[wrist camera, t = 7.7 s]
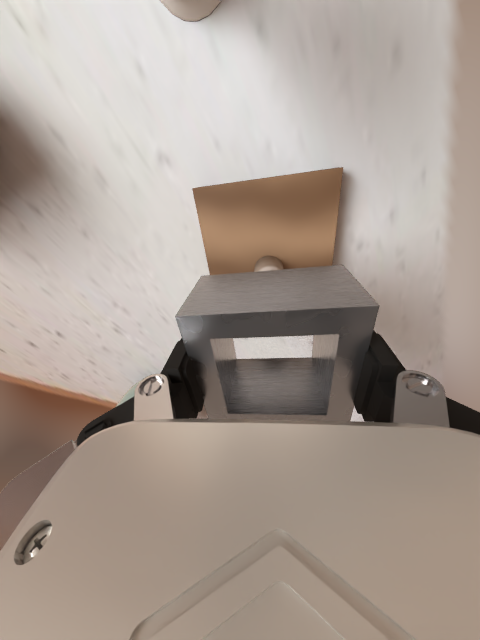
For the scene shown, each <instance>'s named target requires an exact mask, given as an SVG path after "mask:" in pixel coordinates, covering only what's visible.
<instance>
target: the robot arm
mask: <svg viewBox="0 0 480 640" xmlns="http://www.w3.org/2000/svg"><path fill="white" fill-rule="evenodd" d="M353 403H354V406H355V408H356V411H357V413H358V414H362V416H363V419H364V421H365V422H351V421H308V420H254V419H189V418H197V415H198V412H201V411H202V408H203V404H204V399H203V396H202V393H201V390H200V387H199V384H198V381H197V377H196V374H195V371H194V368H193V365H192V362H191V359H190V356H188V354H187V351H186V348H185V345H184V342H183V339H182V338H181V340H180V341H178V342H177V344H176V346H175V347H174V349H173V351H172V353H171V355H170V357H169V359H168V361H167V362H166V364H165V366H164V368H163V370H162V372H161V374H153V375H150V376H147V377H145V378H144V379H143V380H141V381H140V382H139V383H138V385H137V386H136V388H135V396H134V397H132V398H130V399H129V400H127V401H125V402H124V403H122V404H120V405H118V406H117V407H115V408H113V409H112V410H110V411H108V412H107V413H105V414H103V415H102V416H100V417H98V418H96V419H95V420H93V421H92V422H90V423H89V424H88V425H87V426H85V428H83V430H82V431H81V432H80V434H79V436H78V438H77V440H76V441H75V442H73V441H72V440H71V441H69V442H68V443H66V444H64V445H63V446H61V447H60V448H58V449H57V450H55V451H54V452H53V453H51V454H49V455H48V456H46V457H45V458H43V459H42V460H40V461H39V462H37V463H36V464H34V465H33V466H31V467H30V468H28V469H27V470H25V471H24V472H22V473H21V474H19V475H18V476H16V477H15V478H14V479H13V480H11V481H10V482H9V483H8V484H7V485H6V487H4V489H3V490H2V492H1V493H0V640H480V413H479V412H477V411H475V410H473V409H471V408H468V407H466V406H464V405H462V404H460V403H458V402H456V401H454V400H451V399H449V398H447V397H446V395H445V390H444V388H443V386H442V385H441V384H440V382H438V381H437V380H436V379H435V378H433V377H431V376H429V375H427V374H425V373H422V372H419V371H413V370H407V371H406V369H405V368H404V367H403V365H402V364H401V363H400V361H399V360H398V358H397V357H396V356H395V354H394V353H393V352H392V350H391V349H390V348H389V346H388V345H387V343H386V342H385V341H384V339H383V338H382V337H381V335H380V334H376V333H375V331H374V330H373V333H372V337H371V341H370V345H369V349H368V352H366V353H365V357H364V361H363V365H362V369H361V373H360V377H359V381H358V385H357V389H356V393H355V397H354V401H353Z"/></svg>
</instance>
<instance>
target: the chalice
mask: <svg viewBox="0 0 480 640" xmlns="http://www.w3.org/2000/svg"><path fill="white" fill-rule="evenodd" d="M160 1H161V2H162V3H163V4H164V6H165V7H166V8H167V9H168V10H169V11H170V12H171V13H172V14H173V15H175V16H177V17H179V18H181V19H182V20H184V21H198V20H200V19H202V18H204V17H206V16H208V15H210V14H211V13H212V11H213V10H214V9H215V8H216V7H217V5H218V4H219V3H220V2H221V0H160Z"/></svg>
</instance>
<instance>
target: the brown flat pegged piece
mask: <svg viewBox="0 0 480 640" xmlns="http://www.w3.org/2000/svg"><path fill="white" fill-rule="evenodd" d="M342 173H343V167H341V168H332V169H325V170H318V171H311V172H304V173H297V174H290V175H283V176H276V177H269V178H262V179H255V180H247V181H240V182H233V183H226V184H219V185H212V186H205V187H198V188H193V194H194V199H195V204H196V208H197V213H198V218H199V223H200V228H201V233H202V238H203V243H204V247H205V252H206V257H207V262H208V267H209V272H210V275H220V274H232V273H245V272H257V271H270V270H282V269H295V268H307V267H320V266H332V262H333V253H334V244H335V235H336V227H337V218H338V209H339V200H340V191H341V182H342Z"/></svg>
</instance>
